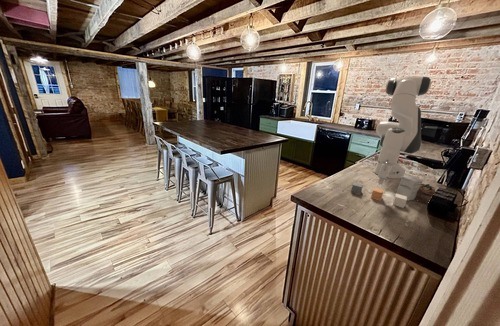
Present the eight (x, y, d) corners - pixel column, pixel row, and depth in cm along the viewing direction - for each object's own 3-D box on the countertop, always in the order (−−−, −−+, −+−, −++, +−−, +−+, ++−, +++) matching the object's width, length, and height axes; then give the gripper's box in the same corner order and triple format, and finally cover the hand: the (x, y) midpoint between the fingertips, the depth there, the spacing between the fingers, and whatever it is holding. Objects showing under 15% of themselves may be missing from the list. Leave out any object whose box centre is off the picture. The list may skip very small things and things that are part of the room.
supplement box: (395, 194, 123) (401, 176, 118) (403, 193, 125) (410, 174, 121) (407, 201, 116) (414, 181, 112) (416, 199, 119) (423, 179, 114)
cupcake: (437, 203, 115) (443, 188, 112) (423, 204, 113) (429, 188, 110) (420, 195, 124) (426, 180, 120) (407, 196, 122) (412, 181, 119)
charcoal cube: (361, 191, 125) (363, 184, 123) (359, 194, 121) (361, 187, 119) (352, 189, 128) (354, 182, 126) (350, 192, 124) (352, 184, 122)
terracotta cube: (381, 197, 119) (383, 190, 117) (380, 201, 115) (383, 193, 113) (371, 194, 122) (374, 187, 120) (370, 198, 118) (373, 190, 116)
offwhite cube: (404, 204, 113) (406, 196, 111) (403, 208, 109) (406, 199, 107) (393, 201, 116) (396, 193, 114) (392, 204, 112) (395, 196, 110)
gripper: (394, 164, 100) (386, 189, 105) (395, 155, 116) (388, 177, 120) (379, 161, 104) (372, 185, 108) (383, 153, 119) (376, 174, 124)
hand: (381, 181), depth 114 cm, fingers open, 8 cm apart
